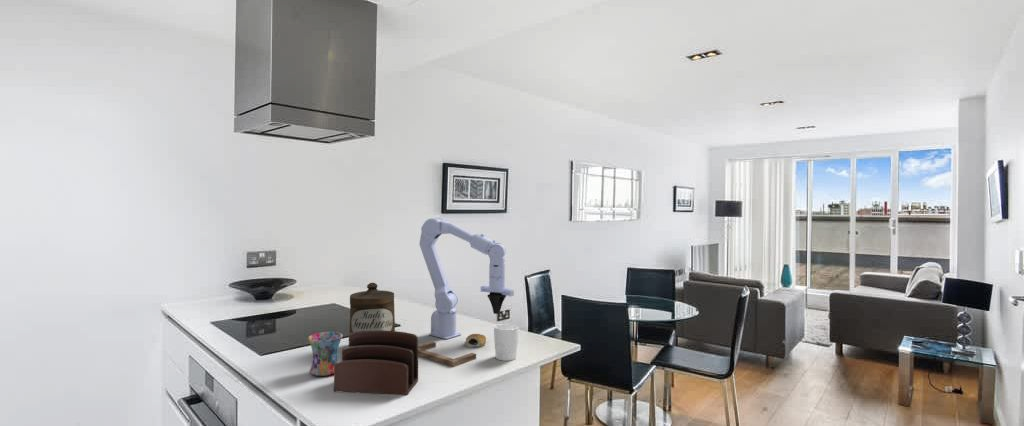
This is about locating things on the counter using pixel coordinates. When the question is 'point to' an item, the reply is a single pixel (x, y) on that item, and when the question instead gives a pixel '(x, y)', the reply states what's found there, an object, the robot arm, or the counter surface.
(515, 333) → the white cup
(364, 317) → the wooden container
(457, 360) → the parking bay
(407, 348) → the letter holder
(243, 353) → the counter surface
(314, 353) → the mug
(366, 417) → the counter surface
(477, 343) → the pastry
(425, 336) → the counter surface
